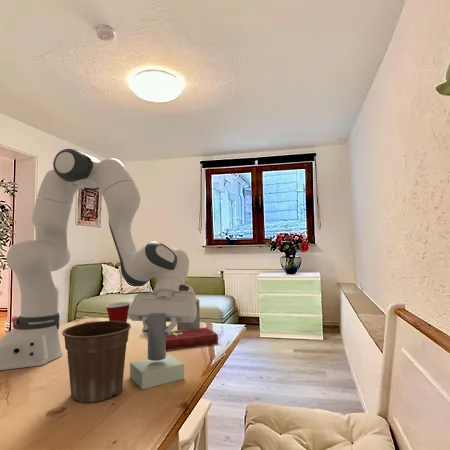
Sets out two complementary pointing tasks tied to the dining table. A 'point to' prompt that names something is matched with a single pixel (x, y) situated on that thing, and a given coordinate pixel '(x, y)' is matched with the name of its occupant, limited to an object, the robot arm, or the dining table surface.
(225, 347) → the dining table surface
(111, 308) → the plastic cup
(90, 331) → the plant pot
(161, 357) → the slate jar
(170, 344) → the hardcover book
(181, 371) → the block
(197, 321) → the pillar candle
